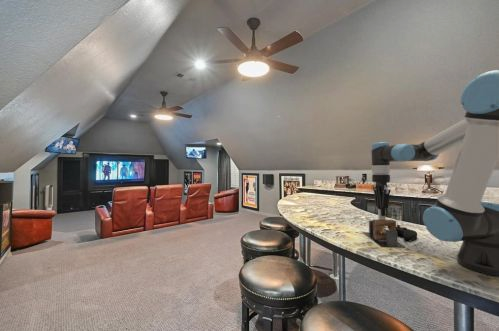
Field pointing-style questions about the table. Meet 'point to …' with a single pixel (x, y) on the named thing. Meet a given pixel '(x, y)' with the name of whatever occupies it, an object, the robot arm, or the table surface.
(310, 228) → the table surface
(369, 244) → the table surface
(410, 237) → the gaming controller
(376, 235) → the collar
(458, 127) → the robot arm
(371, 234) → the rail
